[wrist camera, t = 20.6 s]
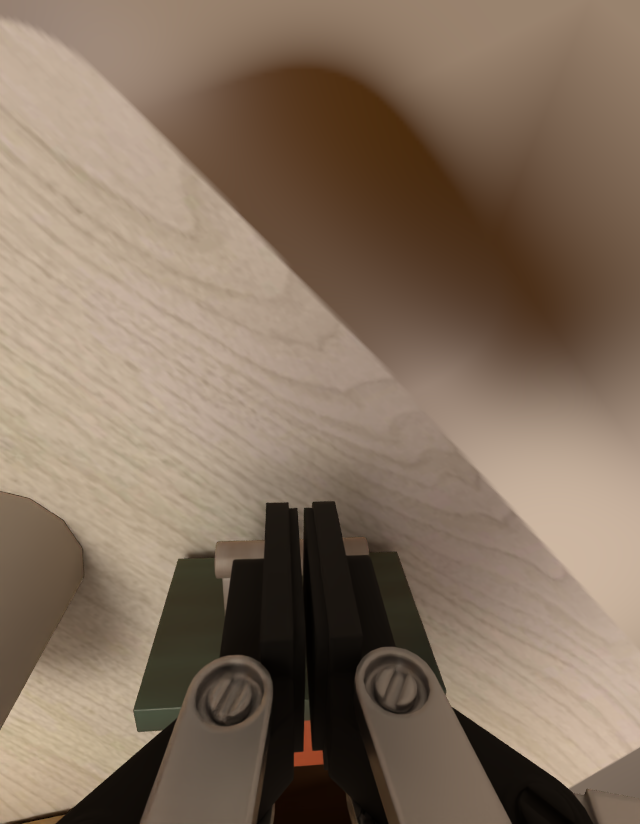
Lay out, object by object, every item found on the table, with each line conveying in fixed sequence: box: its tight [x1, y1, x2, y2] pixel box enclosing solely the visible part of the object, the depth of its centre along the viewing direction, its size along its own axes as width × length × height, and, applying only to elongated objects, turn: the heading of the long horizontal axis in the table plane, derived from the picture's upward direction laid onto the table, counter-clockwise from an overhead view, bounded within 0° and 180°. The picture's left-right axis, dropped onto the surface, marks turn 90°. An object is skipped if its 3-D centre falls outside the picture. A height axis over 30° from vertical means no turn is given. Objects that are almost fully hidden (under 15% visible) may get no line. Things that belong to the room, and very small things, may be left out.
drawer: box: [133, 537, 446, 824], centre depth 22 cm, size 18×11×8 cm, turn 178°
